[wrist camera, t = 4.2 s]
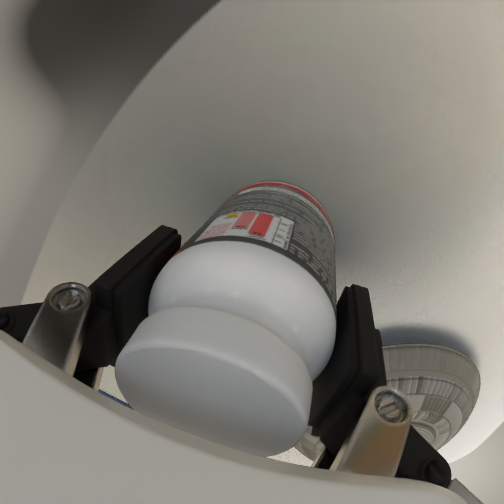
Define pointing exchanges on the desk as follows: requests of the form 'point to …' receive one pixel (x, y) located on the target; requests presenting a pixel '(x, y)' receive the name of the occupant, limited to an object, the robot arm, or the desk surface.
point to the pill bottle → (239, 324)
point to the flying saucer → (425, 391)
